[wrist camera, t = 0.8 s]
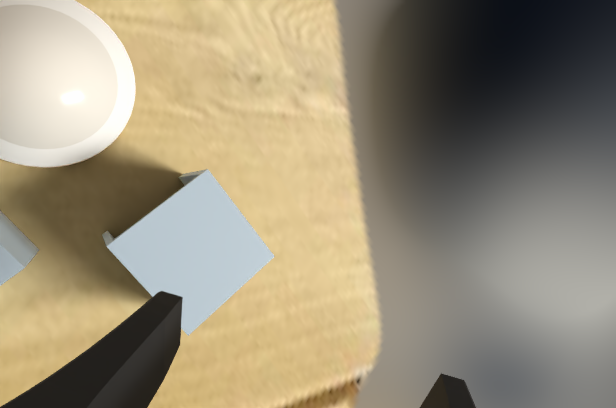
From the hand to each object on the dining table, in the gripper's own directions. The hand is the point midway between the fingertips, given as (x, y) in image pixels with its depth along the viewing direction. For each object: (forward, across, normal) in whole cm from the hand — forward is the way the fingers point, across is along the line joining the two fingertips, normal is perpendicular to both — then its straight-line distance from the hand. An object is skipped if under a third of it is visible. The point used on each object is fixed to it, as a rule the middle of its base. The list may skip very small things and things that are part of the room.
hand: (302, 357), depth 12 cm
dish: (+12, +17, 0) cm, 21 cm away
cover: (+11, +9, +8) cm, 16 cm away
